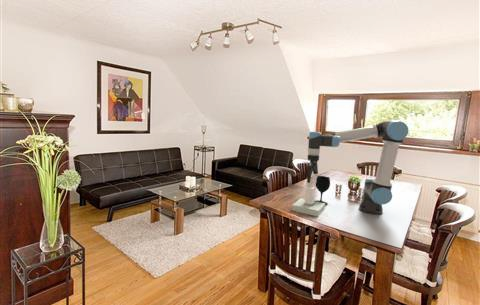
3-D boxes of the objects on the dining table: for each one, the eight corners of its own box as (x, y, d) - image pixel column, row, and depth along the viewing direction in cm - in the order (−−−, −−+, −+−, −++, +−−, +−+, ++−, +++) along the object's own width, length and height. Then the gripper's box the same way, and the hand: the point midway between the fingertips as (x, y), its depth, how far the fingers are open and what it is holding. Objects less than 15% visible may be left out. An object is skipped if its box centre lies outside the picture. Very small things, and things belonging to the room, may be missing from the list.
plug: (313, 209, 183) (315, 187, 181) (311, 211, 179) (313, 189, 176) (306, 207, 185) (308, 186, 183) (304, 209, 181) (306, 187, 179)
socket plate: (324, 208, 185) (325, 203, 185) (318, 216, 170) (318, 210, 169) (300, 203, 194) (300, 198, 194) (291, 210, 179) (292, 204, 178)
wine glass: (315, 204, 192) (318, 177, 189) (312, 200, 202) (314, 175, 200) (329, 205, 191) (332, 179, 189) (325, 201, 201) (328, 176, 199)
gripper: (313, 151, 189) (311, 180, 192) (302, 156, 167) (300, 188, 171) (323, 153, 185) (321, 182, 188) (314, 157, 164) (311, 190, 167)
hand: (311, 184), depth 179 cm, fingers open, 13 cm apart
